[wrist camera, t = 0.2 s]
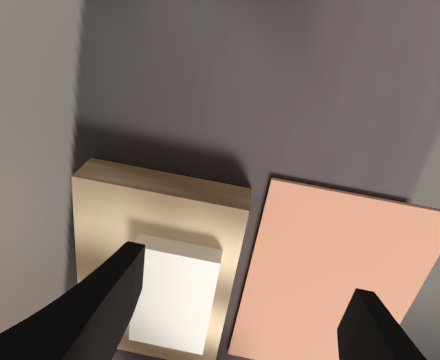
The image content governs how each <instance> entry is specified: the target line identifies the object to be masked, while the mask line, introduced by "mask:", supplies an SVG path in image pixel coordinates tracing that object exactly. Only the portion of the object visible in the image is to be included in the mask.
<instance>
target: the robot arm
mask: <svg viewBox="0 0 440 360" xmlns="http://www.w3.org/2000/svg"><path fill="white" fill-rule="evenodd" d="M144 259H145V244H140V243H135V242H130V241H128V242H126V243H124V244H123V245H122V246H121V247H120V248H119V249H118V250H117V251H116V252H115V253H114V254H113V255H111V256H110V257H109V258H108V259H107V260H106V261H105V262H103V263H102V264H101V265H100V266H99V267H98V268H96V269H95V270H94V271H93V272H92V273H90V274H89V275H88V276H87V277H85V278H84V279H83V280H82V281H80V282H79V283H78V284H76V285H75V286H74V287H72V288H71V289H70V290H68V291H67V292H66V293H64V294H63V295H62V296H60V297H59V298H57V299H56V300H55V301H53V302H52V303H50V304H49V305H47V306H46V307H44V308H43V309H41V310H39V311H38V312H36V313H35V314H33V315H31V316H30V317H28V318H27V319H25V320H23V321H21V322H20V323H18V324H16V325H14V326H13V327H11V328H9V329H8V330H6V331H4V332H2V333H0V360H112V358H113V355H114V353H115V351H116V349H117V347H118V345H119V343H120V341H121V339H122V337H123V335H124V333H125V331H126V329H127V327H128V325H129V323H130V320H131V318H132V316H133V314H134V311H135V308H136V305H137V302H138V299H139V297H140V294H141V291H142V286H143V272H144ZM337 340H338V352H339V360H427V359H426V358H425V357H424V356H423V355H422V354H421V352H420V351H419V350H418V348H417V347H416V346H415V345H414V343H413V342H412V341H411V340H410V338H409V337H408V336H407V334H406V333H405V332H404V330H403V329H402V328H401V327H400V325H399V324H398V322H397V321H396V320H395V318H394V317H393V316H392V314H391V313H390V312H389V310H388V309H387V308H386V306H385V305H384V304H383V302H382V301H381V300H380V299H379V297H378V296H377V295H376V293H375V292H373V291H368V290H363V289H358V288H356V289H355V291H354V293H353V295H352V298H351V300H350V302H349V304H348V306H347V308H346V311H345V313H344V315H343V317H342V319H341V321H340V323H339V326H338V328H337Z"/></svg>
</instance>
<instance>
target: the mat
mask: <svg viewBox="0 0 440 360" xmlns="http://www.w3.org/2000/svg"><path fill="white" fill-rule="evenodd" d="M439 255H440V209H436V208H430V207H425V206H420V205H414V204H409V203H404V202H399V201H394V200H388V199H383V198H378V197H373V196H367V195H362V194H357V193H352V192H346V191H341V190H336V189H331V188H325V187H320V186H315V185H310V184H304V183H299V182H294V181H289V180H283V179H278V178H273V177H271V181H270V185H269V189H268V194H267V198H266V202H265V206H264V210H263V214H262V218H261V222H260V226H259V230H258V234H257V238H256V242H255V246H254V250H253V254H252V258H251V262H250V266H249V270H248V274H247V278H246V282H245V286H244V290H243V294H242V298H241V302H240V306H239V310H238V314H237V318H236V322H235V326H234V330H233V334H232V338H231V342H230V346H229V350H228V354H230V355H235V356H240V357H245V358H249V359H254V360H339V352H338V340H337V328H338V326H339V323H340V321H341V319H342V317H343V315H344V313H345V311H346V308H347V306H348V304H349V302H350V300H351V298H352V295H353V293H354V291H355V289H356V288H358V289H363V290H368V291H373V292H375V293H376V295H377V296H378V297H379V299H380V300H381V301H382V302H383V304H384V305H385V306H386V308H387V309H388V310H389V312H390V313H391V314H392V316H393V317H394V318H395V320H396V321H397V322H398V324H399V325H400V323H401V321H402V319H403V318H404V316H405V314H406V312H407V311H408V309H409V307H410V305H411V304H412V302H413V300H414V298H415V297H416V295H417V293H418V291H419V289H420V288H421V286H422V284H423V283H424V281H425V279H426V277H427V276H428V274H429V272H430V271H431V269H432V267H433V265H434V264H435V262H436V260H437V258H438V256H439Z"/></svg>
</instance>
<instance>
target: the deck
mask: <svg viewBox="0 0 440 360" xmlns="http://www.w3.org/2000/svg"><path fill="white" fill-rule="evenodd" d="M71 179H72V197H73V214H74V232H75V249H76V267H77V284H78V283H79V282H80V281H82V280H83V279H84V278H85V277H87V276H88V275H89V274H90V273H92V272H93V271H94V270H95V269H96V268H98V267H99V266H100V265H101V264H102V263H103V262H105V261H106V260H107V259H108V258H109V257H110V256H111V255H113V254H114V253H115V252H116V251H117V250H118V249H119V248H120V247H121V246H122V245H123V244H124V243H126V242H128V241H130V242H135V241H136V239H137V237H138V235H139V234H145V235H150V236H155V237H160V238H165V239H170V240H175V241H180V242H185V243H190V244H195V245H200V246H205V247H210V248H215V249H220V250H223V253H222V258H221V264H220V269H219V274H218V279H217V284H216V289H215V294H214V299H213V305H212V310H211V315H210V320H209V325H208V330H207V335H206V340H205V345H204V350H203V355H200V354H195V353H190V352H185V351H181V350H176V349H171V348H166V347H162V346H157V345H152V344H147V343H143V342H138V341H133V340H129V325H130V323H129V325H128V327H127V329H126V331H125V333H124V335H123V337H122V339H121V341H120V343H119V345H118V347H117V349H120V350H125V351H129V352H134V353H139V354H143V355H148V356H153V357H158V358H162V359H167V360H216V356H217V352H218V348H219V343H220V339H221V334H222V330H223V325H224V321H225V317H226V312H227V308H228V303H229V299H230V295H231V290H232V286H233V281H234V277H235V273H236V268H237V264H238V259H239V255H240V251H241V246H242V242H243V237H244V233H245V229H246V224H247V220H248V215H249V211H250V200H251V190H252V189H251V188H246V187H241V186H236V185H231V184H225V183H220V182H215V181H210V180H205V179H199V178H194V177H189V176H184V175H179V174H173V173H168V172H163V171H158V170H152V169H147V168H142V167H137V166H132V165H126V164H121V163H116V162H111V161H106V160H100V159H95V158H90V159H89V160H88V161H87V162H86V163H85V164H84V165H83V166H82V167H81V168H80V169H79V170H77V171H76V172H75V173H74V174H73V175H72V176H71Z"/></svg>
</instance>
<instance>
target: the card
mask: <svg viewBox="0 0 440 360" xmlns="http://www.w3.org/2000/svg"><path fill="white" fill-rule="evenodd" d="M135 243H140V244H145V259H144V272H143V286H142V291H141V294H140V297H139V299H138V302H137V305H136V308H135V311H134V314H133V316H132V318H131V320H130V325H129V340H133V341H138V342H143V343H147V344H152V345H157V346H162V347H166V348H171V349H176V350H181V351H185V352H190V353H195V354H200V355H203V350H204V345H205V340H206V335H207V330H208V325H209V320H210V315H211V310H212V305H213V299H214V294H215V289H216V284H217V279H218V274H219V269H220V264H221V258H222V253H223V250H220V249H215V248H210V247H205V246H200V245H195V244H190V243H185V242H180V241H175V240H170V239H165V238H160V237H155V236H150V235H145V234H139V235H138V237H137V239H136V241H135Z"/></svg>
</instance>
